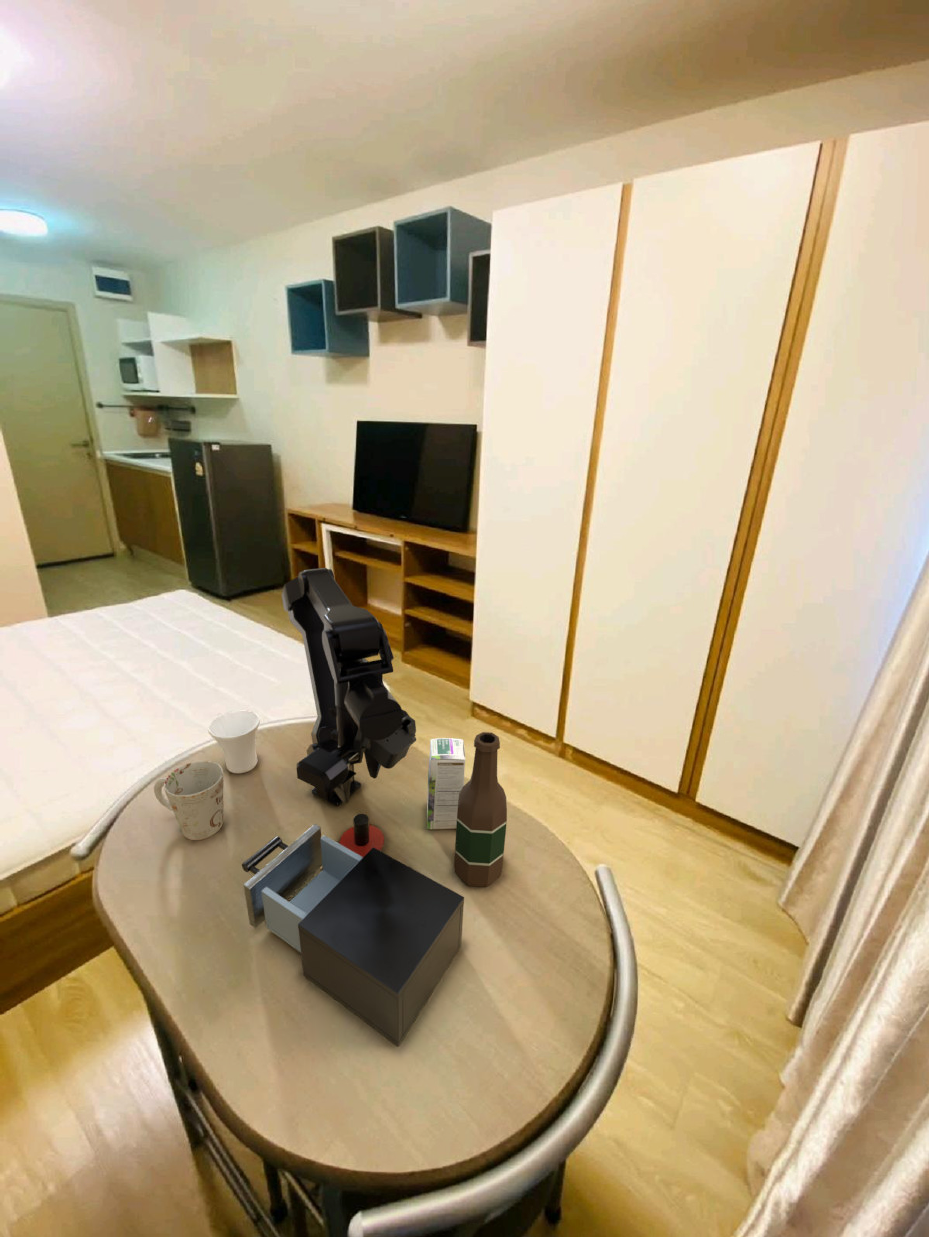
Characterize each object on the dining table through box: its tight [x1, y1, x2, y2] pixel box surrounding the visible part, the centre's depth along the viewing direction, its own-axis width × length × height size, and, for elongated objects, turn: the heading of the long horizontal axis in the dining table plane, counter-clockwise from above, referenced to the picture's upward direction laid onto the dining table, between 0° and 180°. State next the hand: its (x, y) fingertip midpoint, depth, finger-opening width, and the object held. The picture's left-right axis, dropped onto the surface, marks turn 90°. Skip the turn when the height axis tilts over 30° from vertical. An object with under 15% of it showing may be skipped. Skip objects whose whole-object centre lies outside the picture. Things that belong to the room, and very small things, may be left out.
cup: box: [207, 709, 261, 774], centre depth 98 cm, size 9×9×10 cm
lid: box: [339, 813, 385, 857], centre depth 82 cm, size 7×7×5 cm
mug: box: [153, 760, 225, 841], centre depth 84 cm, size 8×13×10 cm, turn 78°
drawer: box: [241, 823, 363, 954], centre depth 70 cm, size 18×12×7 cm
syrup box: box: [426, 737, 466, 830], centre depth 87 cm, size 6×6×14 cm
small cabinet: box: [298, 847, 465, 1048], centre depth 64 cm, size 15×14×9 cm
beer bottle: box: [454, 731, 508, 887], centre depth 75 cm, size 8×8×24 cm
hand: (359, 789), depth 79 cm, fingers open, 6 cm apart
